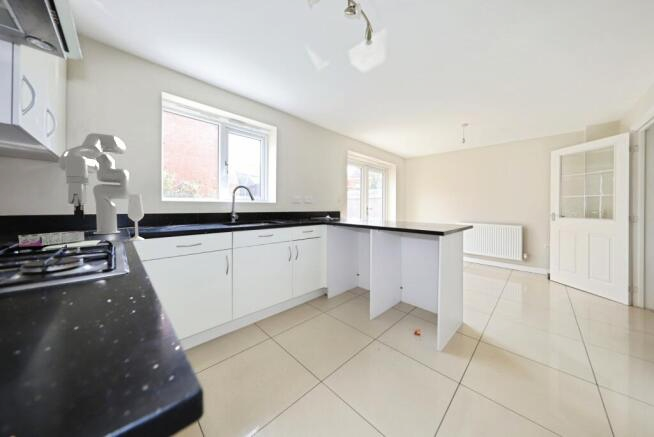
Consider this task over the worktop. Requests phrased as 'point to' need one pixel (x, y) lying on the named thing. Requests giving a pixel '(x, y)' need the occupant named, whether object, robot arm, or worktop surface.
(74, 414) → the worktop surface
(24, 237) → the candy bar box
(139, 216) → the champagne flute
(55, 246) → the mat
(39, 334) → the worktop surface
